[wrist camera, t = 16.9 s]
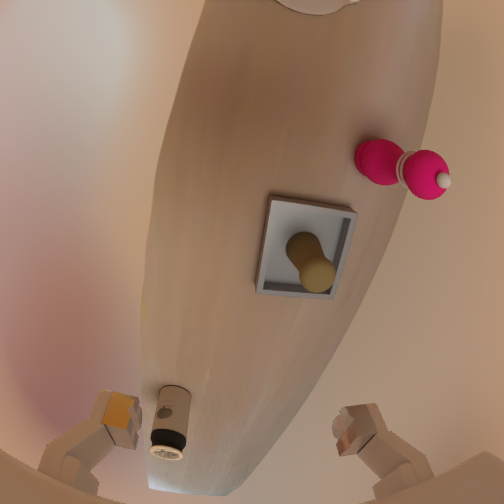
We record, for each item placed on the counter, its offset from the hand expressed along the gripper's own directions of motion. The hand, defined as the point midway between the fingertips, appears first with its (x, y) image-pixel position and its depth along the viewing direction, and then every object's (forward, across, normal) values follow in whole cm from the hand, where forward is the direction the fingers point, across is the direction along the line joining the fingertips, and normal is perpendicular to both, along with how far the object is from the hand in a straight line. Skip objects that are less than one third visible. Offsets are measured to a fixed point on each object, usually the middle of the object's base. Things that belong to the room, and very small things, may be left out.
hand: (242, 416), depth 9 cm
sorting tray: (+37, -12, +7) cm, 40 cm away
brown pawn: (+36, -12, +7) cm, 39 cm away
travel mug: (+37, +10, +50) cm, 63 cm away
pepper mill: (+37, -21, -10) cm, 44 cm away
